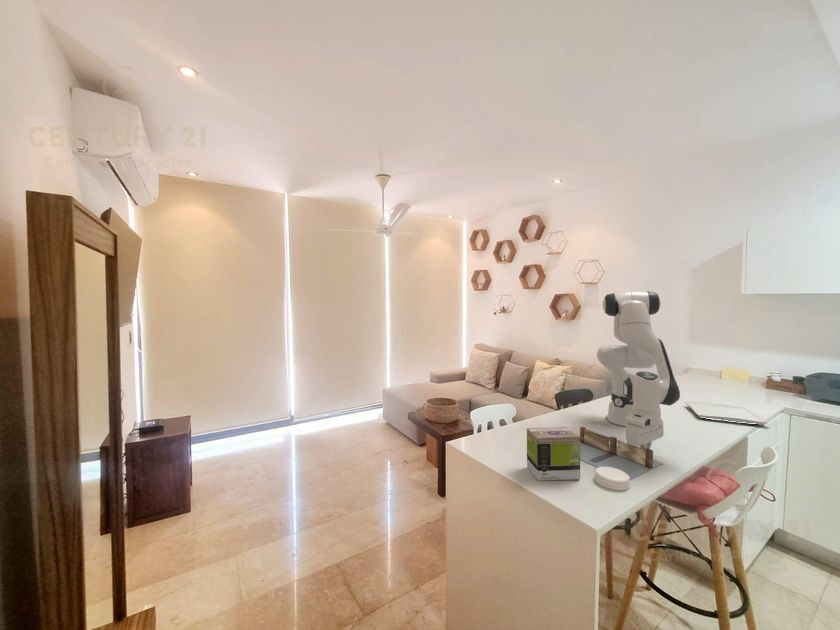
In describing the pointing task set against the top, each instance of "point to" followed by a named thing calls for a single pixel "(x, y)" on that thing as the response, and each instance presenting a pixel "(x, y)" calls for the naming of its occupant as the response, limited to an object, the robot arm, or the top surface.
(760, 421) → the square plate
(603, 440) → the fence fixed panel
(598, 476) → the coaster
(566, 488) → the top surface
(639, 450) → the panel
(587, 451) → the card
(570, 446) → the tea box
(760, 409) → the top surface
